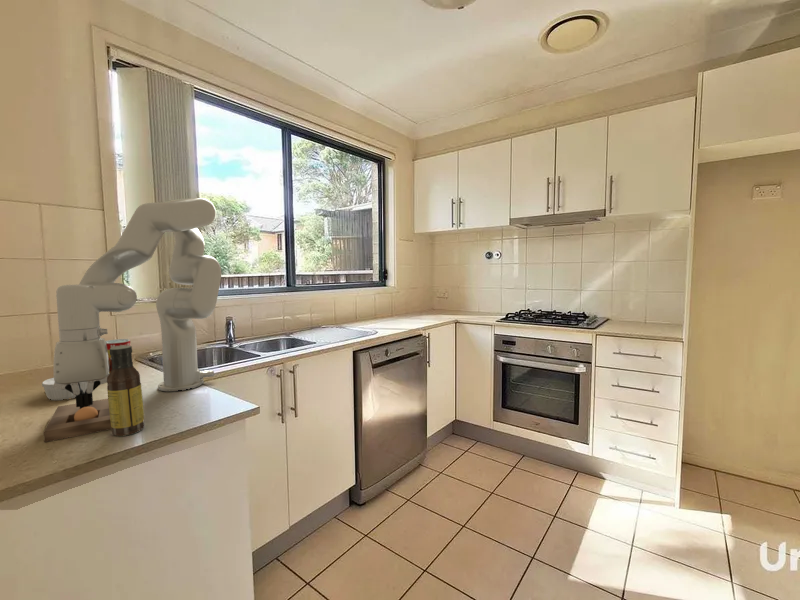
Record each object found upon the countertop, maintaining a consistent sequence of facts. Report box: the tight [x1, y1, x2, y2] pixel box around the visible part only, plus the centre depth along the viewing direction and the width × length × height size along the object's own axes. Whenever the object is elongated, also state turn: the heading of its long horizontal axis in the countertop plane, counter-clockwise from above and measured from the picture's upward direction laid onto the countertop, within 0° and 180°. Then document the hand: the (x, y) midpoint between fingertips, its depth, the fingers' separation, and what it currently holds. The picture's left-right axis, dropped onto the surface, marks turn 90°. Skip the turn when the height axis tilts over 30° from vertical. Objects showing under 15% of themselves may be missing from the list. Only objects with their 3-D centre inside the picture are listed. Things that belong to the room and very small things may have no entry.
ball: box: [74, 407, 98, 421], centre depth 88 cm, size 4×4×4 cm
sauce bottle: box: [106, 345, 145, 437], centre depth 83 cm, size 6×6×20 cm
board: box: [43, 398, 112, 443], centre depth 90 cm, size 14×18×2 cm
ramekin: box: [41, 377, 88, 401], centre depth 108 cm, size 11×11×5 cm
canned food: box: [105, 338, 132, 374], centre depth 131 cm, size 8×8×12 cm
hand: (85, 408), depth 90 cm, fingers closed
